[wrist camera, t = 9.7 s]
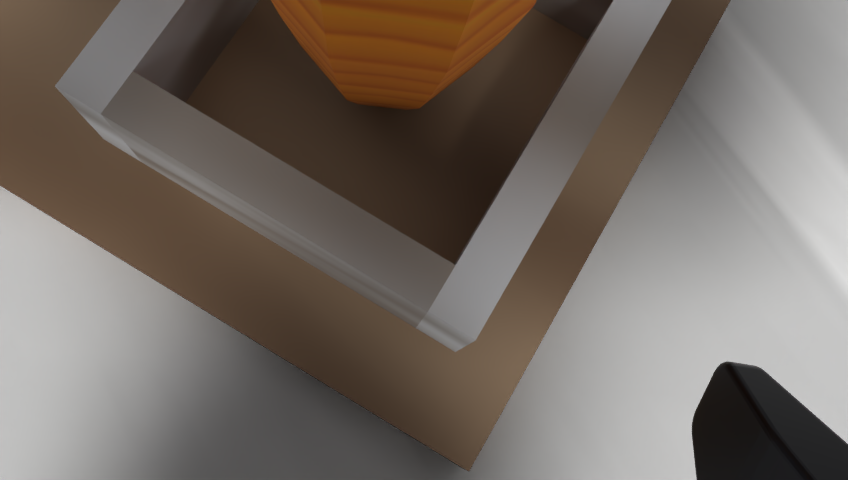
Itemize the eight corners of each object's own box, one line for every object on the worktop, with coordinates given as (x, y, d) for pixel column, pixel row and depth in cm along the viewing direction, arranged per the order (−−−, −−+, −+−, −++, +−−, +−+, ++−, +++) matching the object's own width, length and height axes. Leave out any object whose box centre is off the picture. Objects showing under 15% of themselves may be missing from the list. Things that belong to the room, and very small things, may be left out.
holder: (462, 467, 18) (492, 483, 14) (-138, 101, 19) (-270, 18, 15) (714, 15, 21) (798, -76, 17) (187, -292, 21) (150, -448, 18)
